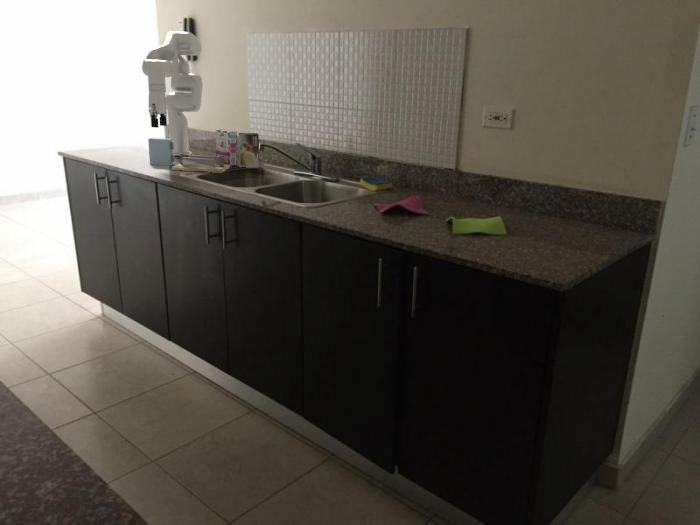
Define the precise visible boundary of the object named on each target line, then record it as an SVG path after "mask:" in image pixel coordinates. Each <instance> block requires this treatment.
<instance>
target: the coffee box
mask: <svg viewBox="0 0 700 525" xmlns="http://www.w3.org/2000/svg"><path fill="white" fill-rule="evenodd" d="M259 137H260V136H259V133H258V132H238V157H239V158H238V159H239V165H240V166H239V167H240V168H241V167H246V168H245V169H254V168H255V169H260V143H259V142H260V139H259Z"/></svg>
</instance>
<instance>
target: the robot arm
mask: <svg viewBox="0 0 700 525" xmlns="http://www.w3.org/2000/svg"><path fill="white" fill-rule="evenodd" d="M201 52H202V44H201V41H200V40H199V38H198V37H197V36H196V35H195V34H193V33H192V32H189V31H173V30H172V31H168V32H167V33H166V34H165V36H164V38H163V40H162V42H161V45H160V46H158V47H156V48H154V49H152V50H150V51H149V52H147V54H146V55H145V56H144V58H143V61H142V63H141V64H142V66H141V69H142V72H143V74H144V76H146V77H147V80H148V81H147V83H148V84H147V86H148V113H149V115H150V126H151V128H155V129H156V128H157V129H158V128H159V126H160V127H161V126H162V127H167V126H168V132H169V133H168V134H169V136H168V137H169V138H168V139H172V142H173V145H174V149H173V155H174V157H175V156H176V157H180V153H183V154H184V157H186V156H188V155H193V152H192V151H190V150H189V149H190V144H189V126H188V118H187V117H186V115H185V114H184V113H185V112H187V113H198V112H199V111H200V109H201V105H202V97H203V96H202V95H203V80H202V77H201V76H200V75H199V74H197V73H190V65H189V63H188V61H187V60H186V59H185V58H184V57H183V56H195V57H196V56H199V55H200V54H201ZM170 77H171V78H170ZM166 78H170V87H171V90H173V92H172V91H171V92H168V93H167V90H166V88H167V87H166ZM166 93H167V94H166ZM158 116H159V118H158ZM167 118H168V123H167Z"/></svg>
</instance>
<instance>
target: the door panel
mask: <svg viewBox="0 0 700 525" xmlns="http://www.w3.org/2000/svg"><path fill="white" fill-rule="evenodd" d="M147 141H148V142H147V143H148V154H149V156H148V157H149V165H156V166H158V165H159V166H172V165H174V163H175V156H174V155H173V149H174V145H173V142H172V139H169V138H164V137H150V138H148V140H147Z"/></svg>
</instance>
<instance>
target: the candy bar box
mask: <svg viewBox="0 0 700 525" xmlns="http://www.w3.org/2000/svg"><path fill="white" fill-rule="evenodd" d="M237 133H238V131H236V130H235V131H234V130H228V129H215V149H216V150H215V156H218V157H220V156H224V164H229V165H231V167H235V166H234V165H236V166H238V139H237V138H238V137H237V136H238V134H237Z"/></svg>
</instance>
